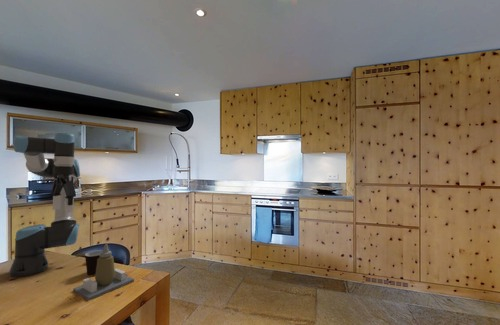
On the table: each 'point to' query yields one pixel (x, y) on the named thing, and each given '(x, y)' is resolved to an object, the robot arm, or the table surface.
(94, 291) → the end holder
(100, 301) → the table surface
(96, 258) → the coffee mug
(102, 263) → the squeeze bottle
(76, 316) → the table surface
